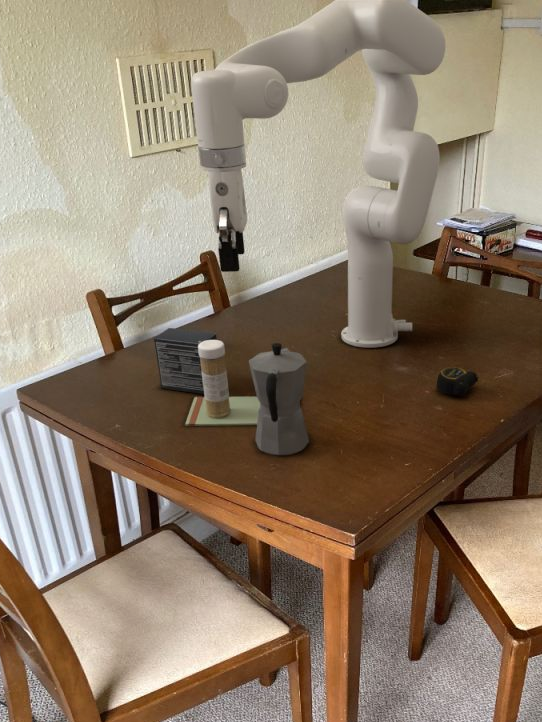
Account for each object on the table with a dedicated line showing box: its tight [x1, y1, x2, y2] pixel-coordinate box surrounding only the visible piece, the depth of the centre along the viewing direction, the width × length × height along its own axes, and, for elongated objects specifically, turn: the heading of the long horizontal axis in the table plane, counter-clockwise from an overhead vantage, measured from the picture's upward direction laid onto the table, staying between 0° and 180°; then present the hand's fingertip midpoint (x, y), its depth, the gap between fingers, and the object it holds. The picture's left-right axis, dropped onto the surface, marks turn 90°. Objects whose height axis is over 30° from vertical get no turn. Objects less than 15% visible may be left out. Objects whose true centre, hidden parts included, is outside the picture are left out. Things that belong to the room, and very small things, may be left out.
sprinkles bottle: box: [198, 339, 231, 418], centre depth 137 cm, size 5×5×14 cm
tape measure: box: [436, 366, 479, 397], centre depth 147 cm, size 7×7×4 cm
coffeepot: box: [248, 342, 310, 456], centre depth 126 cm, size 15×9×18 cm, turn 176°
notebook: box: [184, 395, 260, 427], centre depth 142 cm, size 20×11×1 cm, turn 90°
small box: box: [153, 327, 218, 395], centre depth 149 cm, size 11×6×10 cm, turn 71°
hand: (233, 262), depth 136 cm, fingers open, 9 cm apart
